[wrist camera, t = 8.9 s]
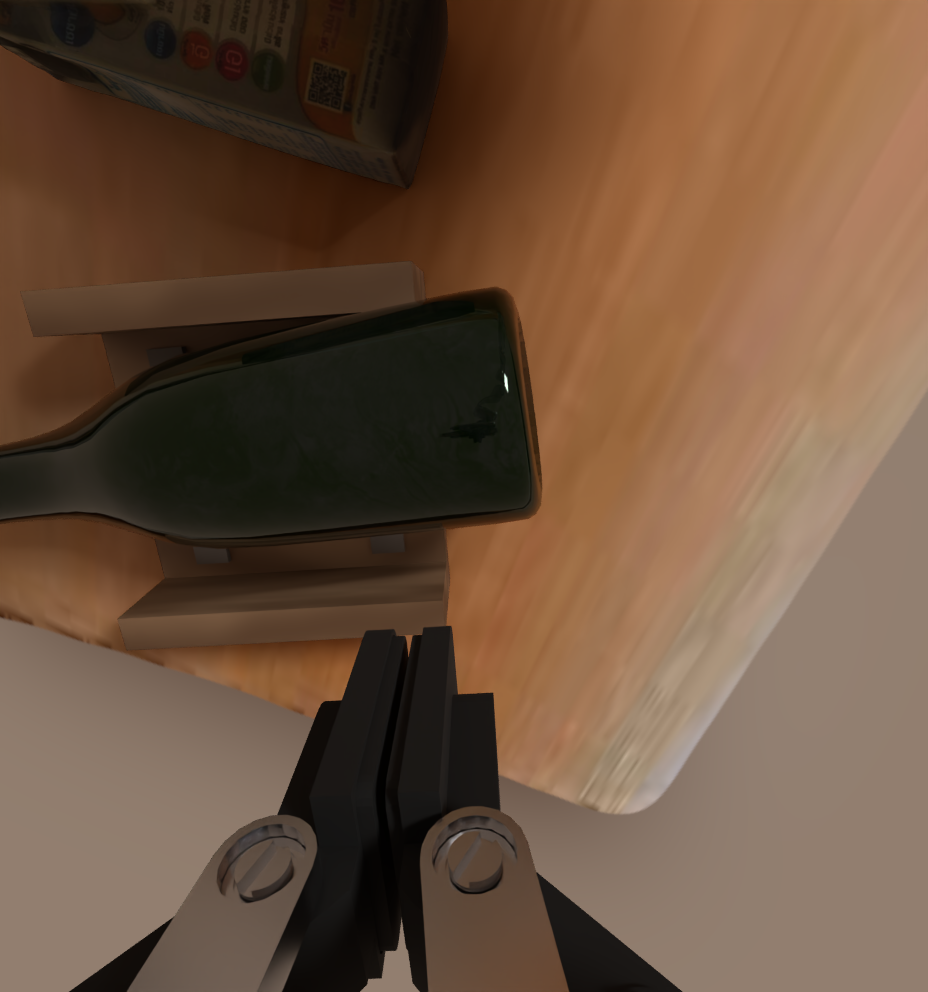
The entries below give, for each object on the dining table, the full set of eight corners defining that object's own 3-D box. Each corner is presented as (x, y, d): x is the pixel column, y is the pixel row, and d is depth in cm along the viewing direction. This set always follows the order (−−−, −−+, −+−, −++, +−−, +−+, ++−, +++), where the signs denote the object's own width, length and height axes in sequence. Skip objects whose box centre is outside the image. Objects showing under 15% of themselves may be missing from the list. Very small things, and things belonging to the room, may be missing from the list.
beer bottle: (509, 238, 25) (-85, 361, 31) (519, 379, 18) (-254, 505, 24) (537, 416, 32) (57, 488, 38) (551, 565, 25) (-39, 625, 31)
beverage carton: (68, -107, 26) (-59, -240, 20) (457, 26, 28) (454, -60, 21) (58, 84, 29) (-58, 18, 22) (418, 197, 30) (404, 165, 24)
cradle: (108, 296, 32) (20, 291, 25) (423, 272, 31) (411, 261, 25) (183, 595, 37) (126, 650, 31) (449, 579, 37) (445, 632, 31)
